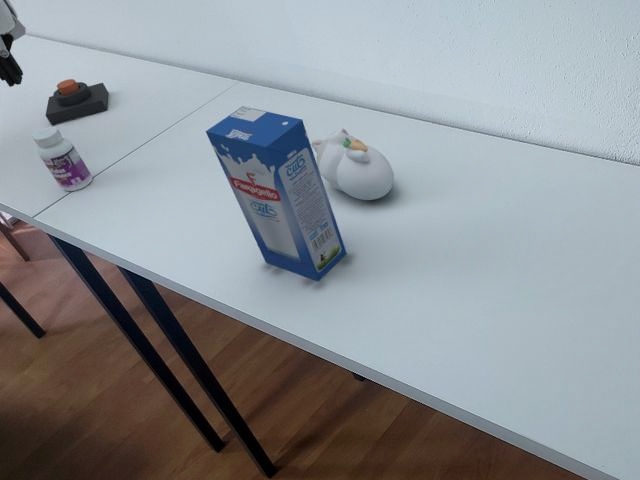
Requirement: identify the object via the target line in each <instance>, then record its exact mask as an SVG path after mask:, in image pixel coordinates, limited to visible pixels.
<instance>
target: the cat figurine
mask: <svg viewBox="0 0 640 480" xmlns="http://www.w3.org/2000/svg"><path fill="white" fill-rule="evenodd" d="M310 145H311V148H312V150H313V149H314V151H315V153H316V163H317V166H318V169H319V172H320V175H321V178H322V179H323V180H325V182H327V184H329V185H330V186H331V187H333V188H335V189H336V190H338V191H342V192H344V193H345V194H346V195H348V196H350V197H352V198H354V199H358V200H363V201H373V200H378V199H380V198H382V197H384V196H385V195H388V193H389V192H390V191H392V188H393V185H394V182H395V175H394V169H393V167H392V165H391V163H390V162H389V160H388V159H387V158H386V156H385V155H384V154H383V153H382V152H381V151H379V150H378V149H376V148H374V147H372V146H370V145H366V144H365V143H364V142H362V141H361V140H360V139H358V138H357V137H355V136H353V135H351V134H349V133H348V131H347V130H346V129H345V128H342V129H341V131H334V132H332V133H331V134H330V135H328V137H327V138H326V139H314V140H313V141H311V142H310Z"/></svg>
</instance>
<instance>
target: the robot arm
mask: <svg viewBox="0 0 640 480" xmlns="http://www.w3.org/2000/svg"><path fill="white" fill-rule="evenodd" d="M26 32H27V28H26V27H25V25H24V24H23V23H22V22H21V21H20V20H19V19H18V14H17V11H16V10H15V8H14V6H13V4H12V3H11V2H10V0H0V80H1V81H2V82H4V81H5V82H6V84H7V86H8V87H9V88H10V87H11V88H12V87H14V86H15V85H21V84H22V82H23V75H24V72H23V70H22V68H21V66H20V65H19V64H18V61H17V60H16V59H15V57H14V55H13V54H12V53H11V49H12V46H13V43H14V42H15V41H16V40H19V39H20V38H22V37H23V36H25V35H26Z"/></svg>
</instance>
